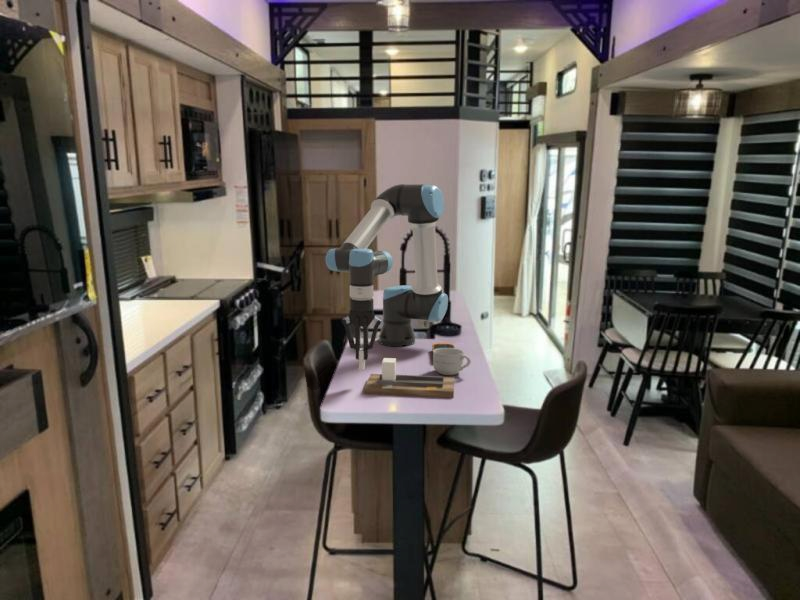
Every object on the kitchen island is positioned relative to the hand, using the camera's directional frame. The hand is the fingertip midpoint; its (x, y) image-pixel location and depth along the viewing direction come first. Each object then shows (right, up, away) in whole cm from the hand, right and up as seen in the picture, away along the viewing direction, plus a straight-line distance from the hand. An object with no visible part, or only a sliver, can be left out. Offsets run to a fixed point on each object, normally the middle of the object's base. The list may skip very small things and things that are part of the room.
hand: (361, 368), depth 191 cm
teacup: (+30, -4, +14) cm, 34 cm away
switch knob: (+9, -4, 0) cm, 10 cm away
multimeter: (+29, 0, +33) cm, 44 cm away
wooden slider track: (+16, -6, 0) cm, 17 cm away
